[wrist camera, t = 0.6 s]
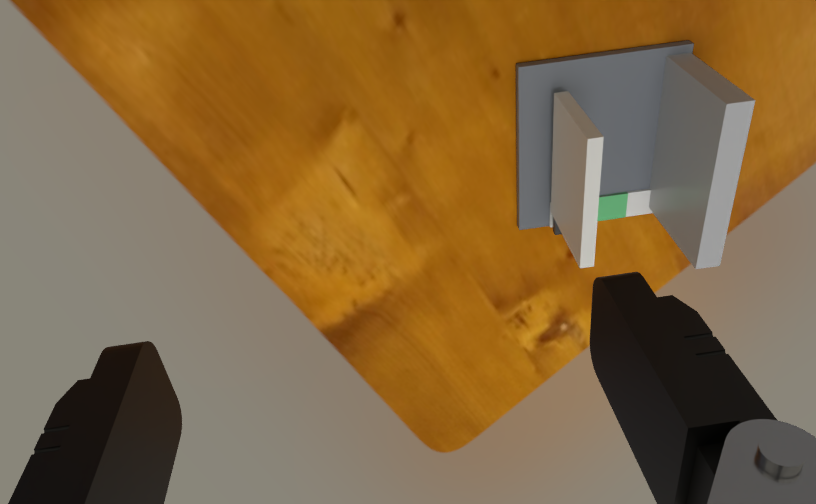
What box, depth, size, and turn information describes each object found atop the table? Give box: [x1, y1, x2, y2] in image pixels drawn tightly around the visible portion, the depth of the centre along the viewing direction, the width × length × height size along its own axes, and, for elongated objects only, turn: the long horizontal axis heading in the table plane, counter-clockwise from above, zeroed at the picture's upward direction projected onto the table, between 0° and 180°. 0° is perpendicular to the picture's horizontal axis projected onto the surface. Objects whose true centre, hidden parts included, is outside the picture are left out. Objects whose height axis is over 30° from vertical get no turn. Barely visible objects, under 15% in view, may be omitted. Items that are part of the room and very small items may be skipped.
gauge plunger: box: [551, 91, 604, 268], centre depth 38 cm, size 9×1×6 cm, turn 6°
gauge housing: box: [516, 40, 755, 269], centre depth 38 cm, size 11×10×8 cm
